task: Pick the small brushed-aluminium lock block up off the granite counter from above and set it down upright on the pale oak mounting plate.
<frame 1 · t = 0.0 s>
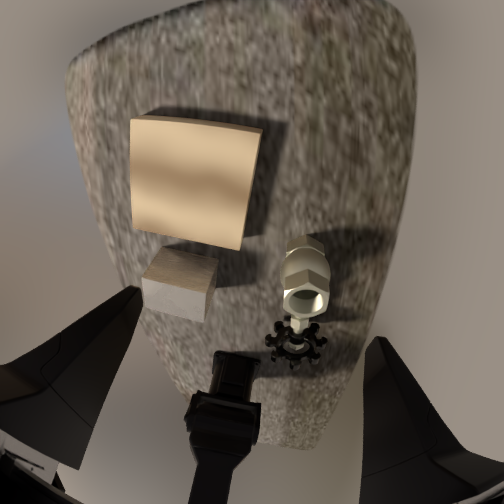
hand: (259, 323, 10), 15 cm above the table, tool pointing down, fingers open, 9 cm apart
aluminium lock block: (189, 267, 28), on the table
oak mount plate: (193, 177, 22), on the table
valve: (301, 281, 28), on the table
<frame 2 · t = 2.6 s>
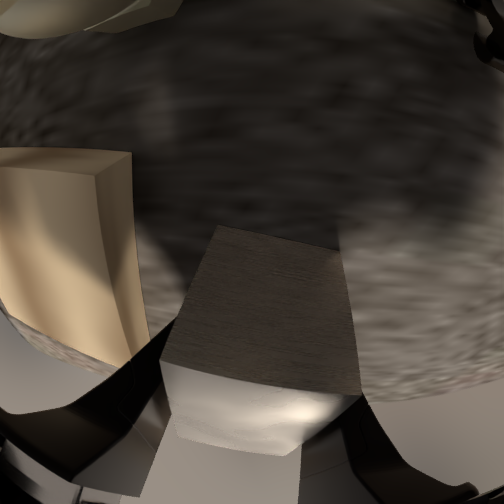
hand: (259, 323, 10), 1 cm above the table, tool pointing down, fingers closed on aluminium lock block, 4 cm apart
aluminium lock block: (262, 303, 10), on the table, touching gripper
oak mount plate: (52, 248, 11), on the table
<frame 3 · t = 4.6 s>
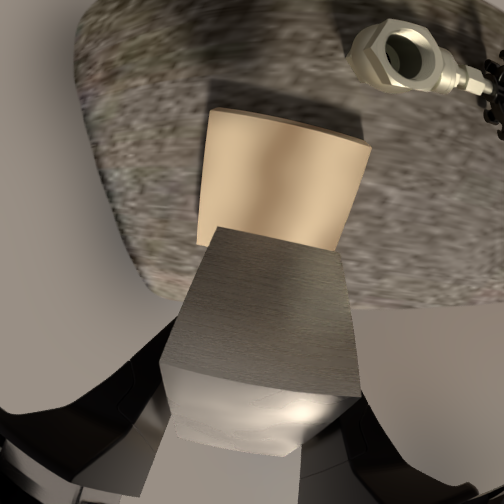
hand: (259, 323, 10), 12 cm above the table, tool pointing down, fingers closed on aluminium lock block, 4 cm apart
aluminium lock block: (262, 304, 10), point 11 cm above the table, touching gripper
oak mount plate: (277, 187, 19), on the table
valve: (423, 71, 13), on the table
when the fingers open (4 cm above the table, at t = 6.7 s): aluminium lock block drops 1 cm, resting on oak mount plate.
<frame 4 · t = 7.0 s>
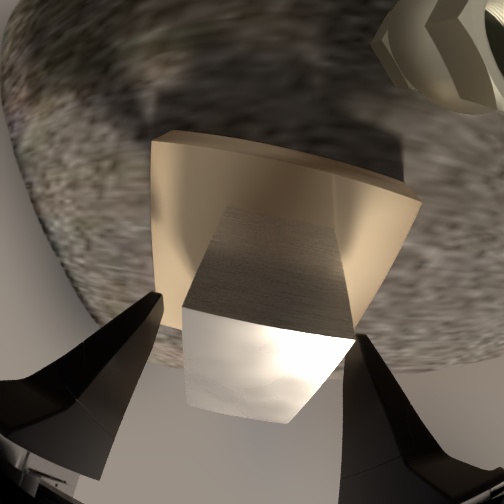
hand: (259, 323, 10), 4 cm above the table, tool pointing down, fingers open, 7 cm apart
aluminium lock block: (265, 278, 12), point 2 cm above the table, touching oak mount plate
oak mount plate: (268, 250, 13), on the table
valve: (481, 73, 7), on the table
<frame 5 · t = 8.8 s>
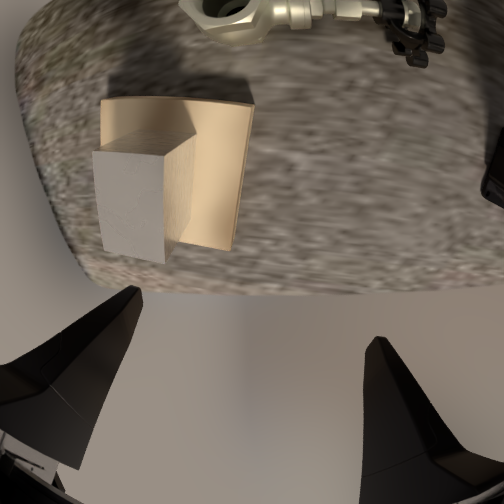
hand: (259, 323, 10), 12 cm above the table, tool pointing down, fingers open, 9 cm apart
aluminium lock block: (164, 175, 17), point 2 cm above the table, touching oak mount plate
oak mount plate: (174, 165, 19), on the table
valve: (307, 18, 12), on the table
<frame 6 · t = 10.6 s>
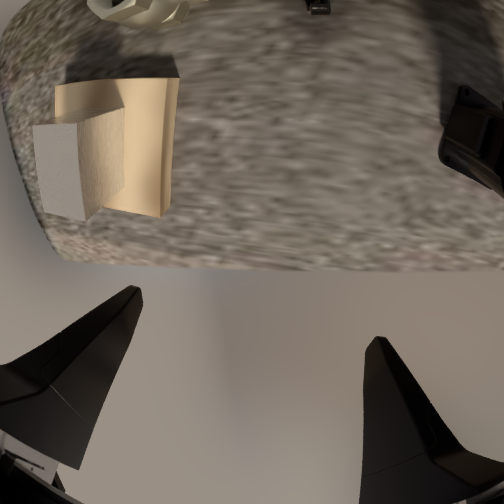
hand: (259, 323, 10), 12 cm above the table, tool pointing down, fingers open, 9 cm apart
aluminium lock block: (101, 147, 17), point 2 cm above the table, touching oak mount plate
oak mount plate: (115, 139, 18), on the table
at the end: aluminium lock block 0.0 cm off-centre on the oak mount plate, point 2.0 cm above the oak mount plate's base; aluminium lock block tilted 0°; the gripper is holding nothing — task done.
